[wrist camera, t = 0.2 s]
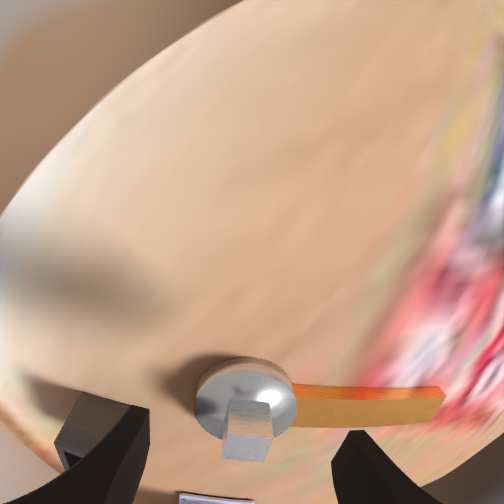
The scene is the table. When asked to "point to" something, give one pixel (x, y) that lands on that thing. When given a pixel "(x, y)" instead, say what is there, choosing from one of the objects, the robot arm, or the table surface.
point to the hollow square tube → (86, 427)
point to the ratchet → (294, 406)
